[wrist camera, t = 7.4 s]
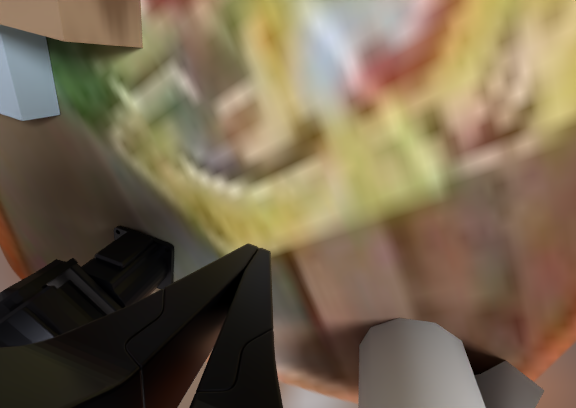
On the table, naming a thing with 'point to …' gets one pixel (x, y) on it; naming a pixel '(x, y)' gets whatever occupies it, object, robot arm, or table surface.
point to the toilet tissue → (433, 372)
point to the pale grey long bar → (26, 76)
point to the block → (77, 20)
